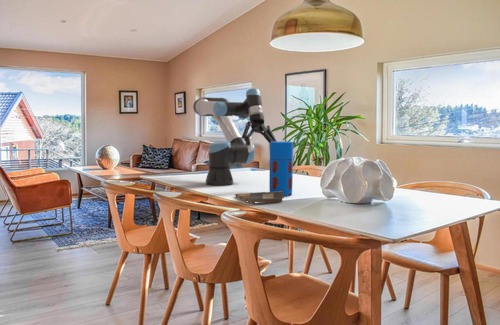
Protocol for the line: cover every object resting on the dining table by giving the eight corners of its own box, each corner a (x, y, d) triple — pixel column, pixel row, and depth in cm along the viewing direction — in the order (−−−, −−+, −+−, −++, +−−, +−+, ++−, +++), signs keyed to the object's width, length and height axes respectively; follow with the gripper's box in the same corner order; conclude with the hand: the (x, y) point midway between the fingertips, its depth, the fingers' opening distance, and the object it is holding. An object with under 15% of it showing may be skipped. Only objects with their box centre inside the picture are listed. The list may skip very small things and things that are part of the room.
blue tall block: (284, 197, 201) (284, 142, 199) (264, 195, 207) (265, 142, 205) (296, 194, 210) (297, 141, 207) (277, 192, 216) (278, 141, 214)
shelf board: (235, 196, 201) (235, 187, 201) (264, 194, 207) (264, 185, 207) (251, 204, 184) (251, 193, 183) (283, 201, 190) (283, 191, 189)
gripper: (240, 108, 219) (245, 146, 211) (279, 117, 233) (285, 153, 225) (232, 115, 225) (236, 152, 217) (271, 123, 239) (276, 159, 231)
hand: (261, 153), depth 221 cm, fingers open, 13 cm apart
